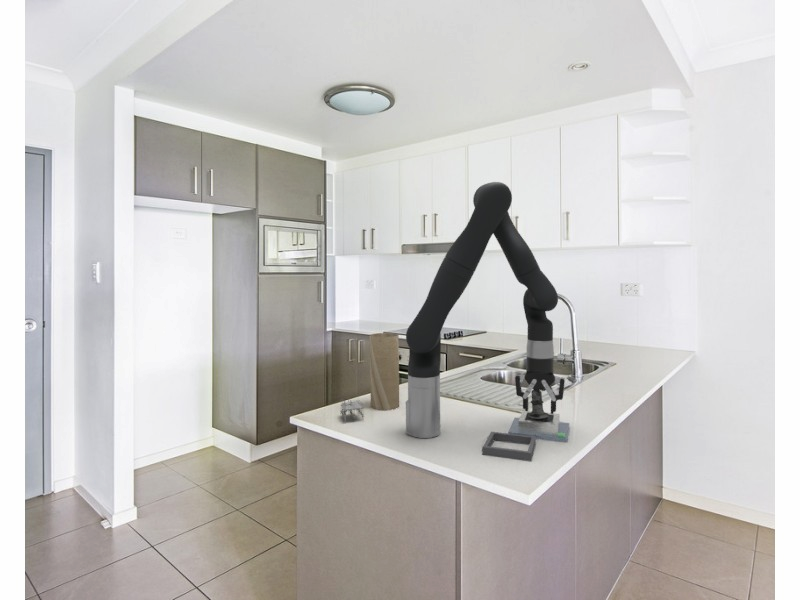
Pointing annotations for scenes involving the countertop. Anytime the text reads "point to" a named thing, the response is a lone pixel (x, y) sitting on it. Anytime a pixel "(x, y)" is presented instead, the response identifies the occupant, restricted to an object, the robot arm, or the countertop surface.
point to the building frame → (352, 407)
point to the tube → (384, 371)
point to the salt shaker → (537, 408)
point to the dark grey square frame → (509, 452)
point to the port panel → (541, 427)
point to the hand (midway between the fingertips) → (539, 411)
